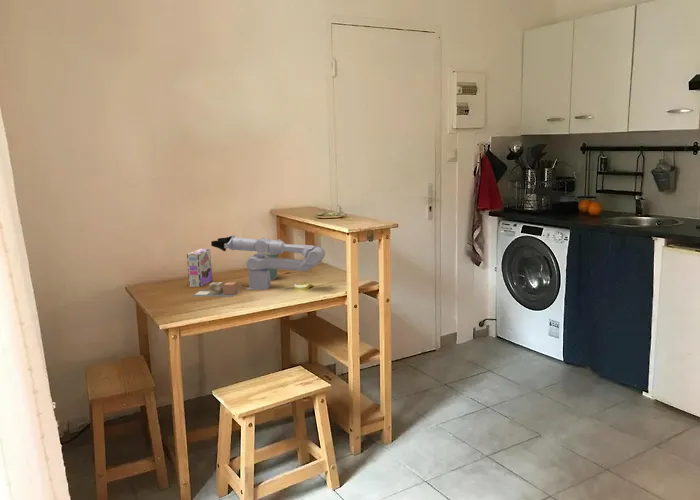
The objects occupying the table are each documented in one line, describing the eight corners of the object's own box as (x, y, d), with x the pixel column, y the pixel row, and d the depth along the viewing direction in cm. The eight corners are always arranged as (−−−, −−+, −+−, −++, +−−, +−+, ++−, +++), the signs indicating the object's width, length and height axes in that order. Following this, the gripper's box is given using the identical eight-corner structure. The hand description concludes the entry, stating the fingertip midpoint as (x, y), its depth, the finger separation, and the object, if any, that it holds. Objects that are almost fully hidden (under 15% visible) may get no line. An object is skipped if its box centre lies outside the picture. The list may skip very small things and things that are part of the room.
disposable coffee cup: (271, 282, 282) (269, 251, 280) (254, 280, 288) (252, 249, 285) (284, 277, 291) (283, 247, 289) (267, 275, 297) (266, 246, 294)
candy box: (200, 288, 275) (197, 253, 272) (188, 287, 276) (186, 253, 273) (213, 281, 288) (210, 248, 285) (201, 281, 289) (199, 248, 286)
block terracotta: (237, 292, 263) (236, 282, 262) (233, 294, 258) (232, 284, 258) (227, 292, 263) (226, 282, 263) (223, 294, 259) (223, 284, 258)
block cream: (223, 292, 264) (222, 282, 263) (219, 294, 259) (218, 284, 259) (213, 291, 264) (213, 282, 264) (209, 294, 260) (209, 284, 259)
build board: (241, 291, 266) (241, 290, 266) (232, 298, 255) (232, 296, 255) (201, 291, 269) (201, 289, 269) (191, 297, 258) (191, 296, 258)
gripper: (248, 233, 275) (220, 231, 277) (237, 238, 261) (208, 236, 263) (248, 248, 276) (220, 246, 278) (237, 253, 262) (208, 251, 264)
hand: (214, 242), depth 270 cm, fingers open, 7 cm apart
